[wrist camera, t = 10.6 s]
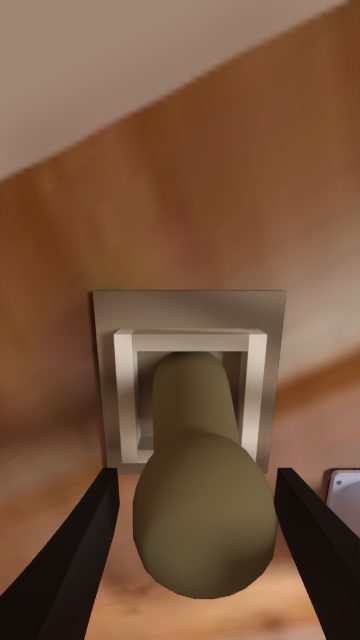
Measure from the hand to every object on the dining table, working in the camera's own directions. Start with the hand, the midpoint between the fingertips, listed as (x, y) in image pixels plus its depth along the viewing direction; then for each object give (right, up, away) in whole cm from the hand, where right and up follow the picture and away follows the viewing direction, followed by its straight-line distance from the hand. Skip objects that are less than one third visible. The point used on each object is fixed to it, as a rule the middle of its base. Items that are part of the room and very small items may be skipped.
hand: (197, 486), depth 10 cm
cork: (0, +2, +8) cm, 8 cm away
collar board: (0, +2, +8) cm, 8 cm away
